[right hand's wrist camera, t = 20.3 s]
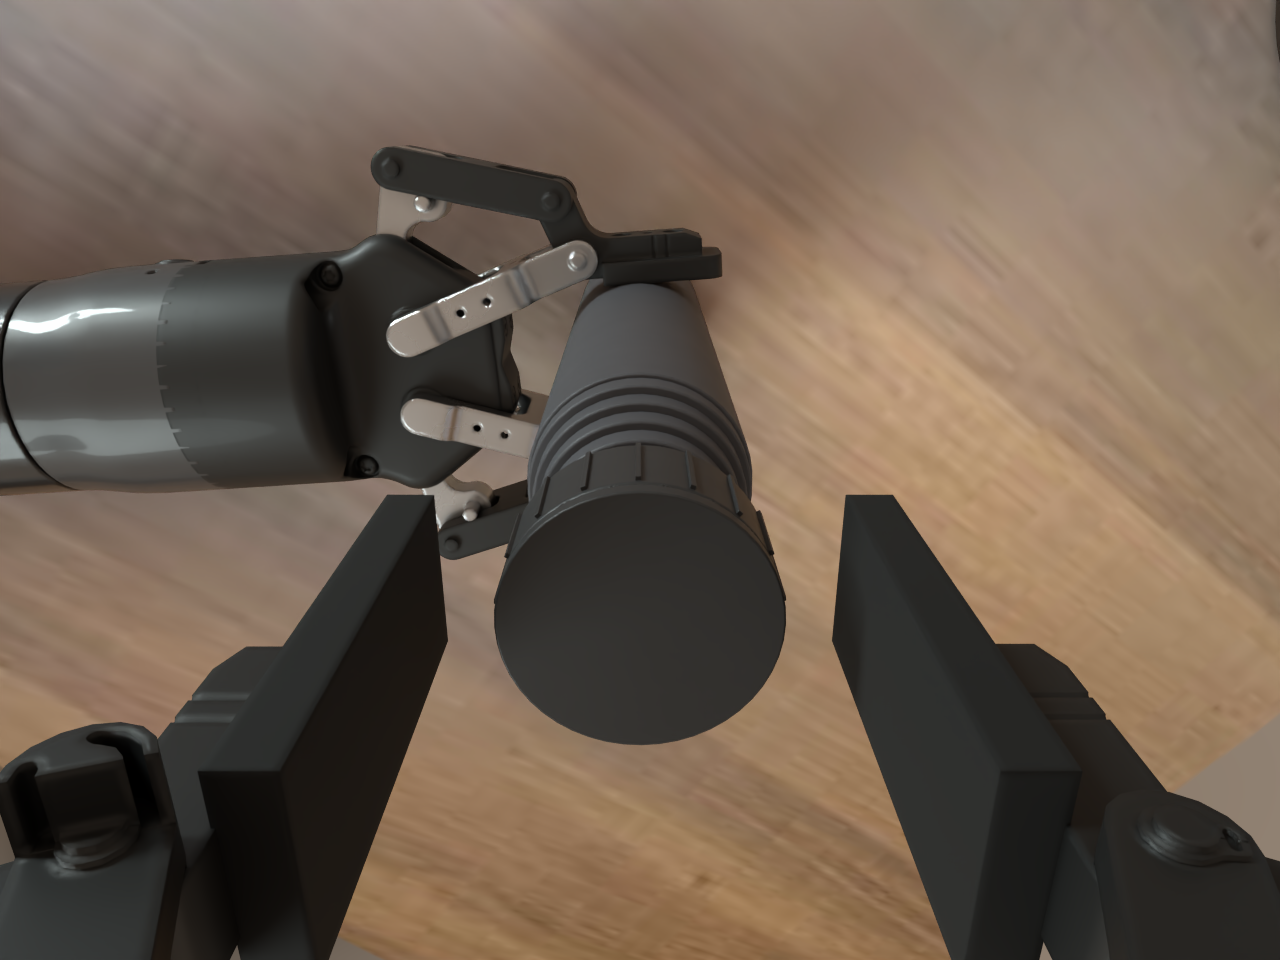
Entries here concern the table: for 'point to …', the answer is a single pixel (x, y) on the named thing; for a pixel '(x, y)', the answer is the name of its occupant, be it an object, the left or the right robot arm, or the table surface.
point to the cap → (640, 597)
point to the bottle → (639, 384)
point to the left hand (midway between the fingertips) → (719, 342)
